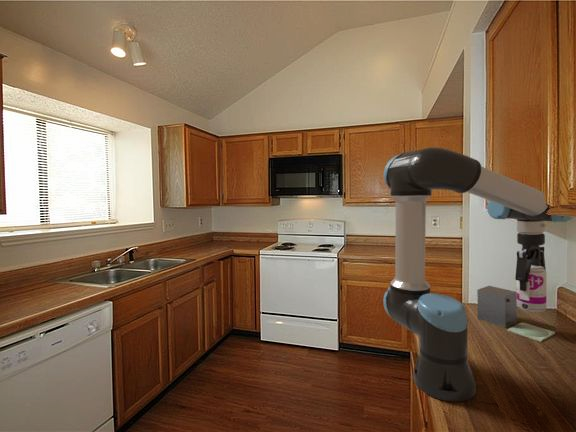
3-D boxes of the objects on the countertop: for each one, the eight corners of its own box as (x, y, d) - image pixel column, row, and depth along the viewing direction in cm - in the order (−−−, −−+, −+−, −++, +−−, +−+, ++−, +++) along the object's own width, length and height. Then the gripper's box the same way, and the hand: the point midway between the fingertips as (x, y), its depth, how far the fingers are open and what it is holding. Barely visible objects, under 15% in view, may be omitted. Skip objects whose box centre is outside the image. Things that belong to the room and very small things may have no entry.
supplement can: (547, 314, 103) (547, 270, 102) (516, 310, 108) (516, 268, 107) (545, 306, 109) (545, 265, 108) (516, 302, 114) (516, 263, 113)
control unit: (506, 328, 113) (506, 296, 112) (477, 319, 122) (477, 289, 121) (518, 322, 117) (518, 292, 116) (489, 314, 126) (489, 285, 125)
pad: (540, 341, 102) (540, 339, 102) (507, 330, 111) (507, 328, 111) (554, 333, 107) (554, 331, 107) (522, 323, 116) (522, 321, 116)
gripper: (527, 237, 98) (528, 306, 100) (558, 230, 108) (558, 293, 110) (502, 235, 105) (503, 300, 107) (533, 228, 115) (533, 287, 116)
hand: (531, 296), depth 108 cm, fingers closed on supplement can, 8 cm apart
